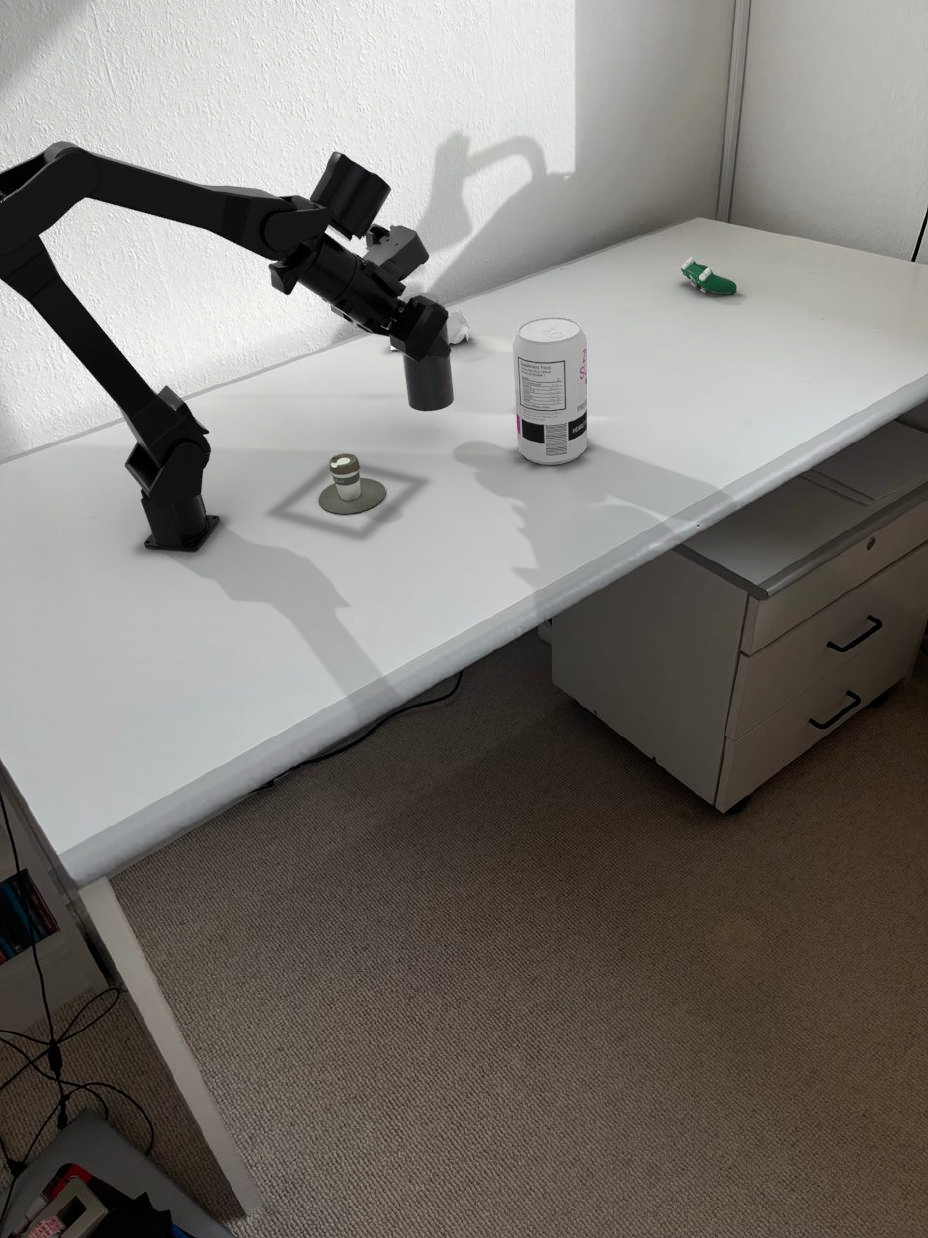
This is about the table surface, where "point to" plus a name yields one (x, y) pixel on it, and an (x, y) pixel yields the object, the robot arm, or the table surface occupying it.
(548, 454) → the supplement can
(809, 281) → the table surface
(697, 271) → the green toy car
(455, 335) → the fabric
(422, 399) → the flask
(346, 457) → the coffee cup
